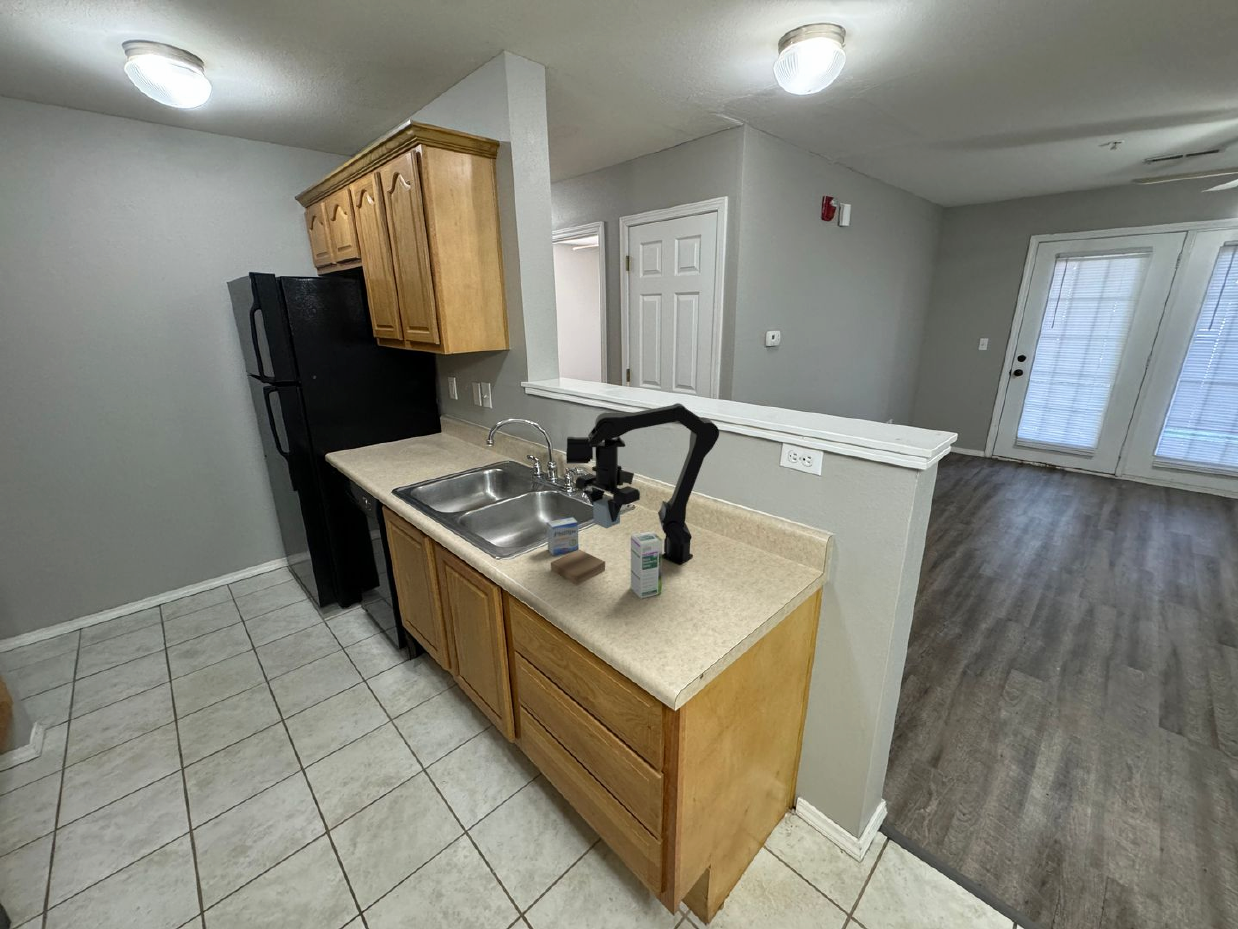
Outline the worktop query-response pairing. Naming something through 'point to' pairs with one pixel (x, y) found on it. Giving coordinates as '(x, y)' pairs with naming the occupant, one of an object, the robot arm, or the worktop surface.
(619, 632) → the worktop surface
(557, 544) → the medicine box
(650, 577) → the syrup box
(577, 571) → the walnut block
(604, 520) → the slate block
